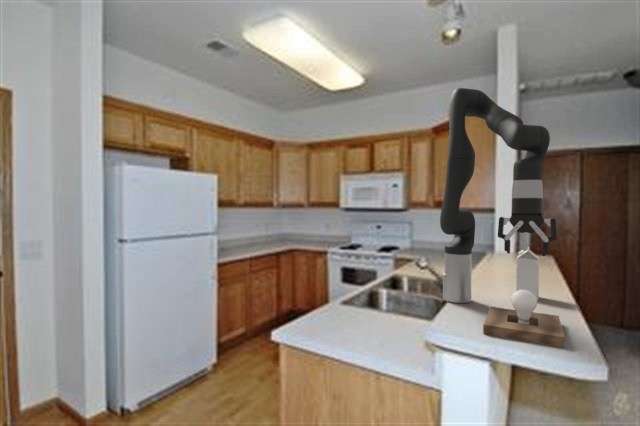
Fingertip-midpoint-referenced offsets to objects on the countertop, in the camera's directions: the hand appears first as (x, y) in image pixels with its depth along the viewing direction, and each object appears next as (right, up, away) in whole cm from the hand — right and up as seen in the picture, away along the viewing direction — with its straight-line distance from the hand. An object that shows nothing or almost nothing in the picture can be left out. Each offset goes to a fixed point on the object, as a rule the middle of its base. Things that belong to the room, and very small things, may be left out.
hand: (525, 254), depth 101 cm
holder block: (-1, -21, -1) cm, 21 cm away
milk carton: (+20, -20, +34) cm, 45 cm away
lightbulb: (-1, -21, -1) cm, 21 cm away
